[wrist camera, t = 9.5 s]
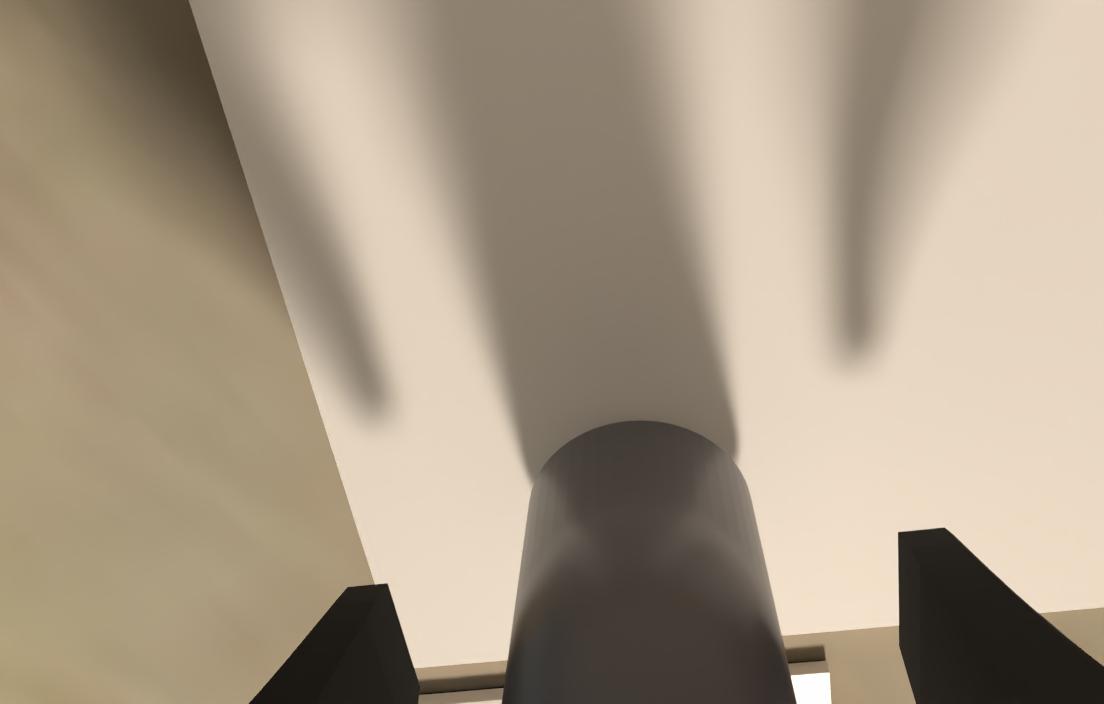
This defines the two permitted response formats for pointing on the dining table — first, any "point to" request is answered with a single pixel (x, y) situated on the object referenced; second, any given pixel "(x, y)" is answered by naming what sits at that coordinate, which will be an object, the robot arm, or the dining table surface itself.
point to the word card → (806, 676)
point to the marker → (644, 578)
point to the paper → (691, 273)
